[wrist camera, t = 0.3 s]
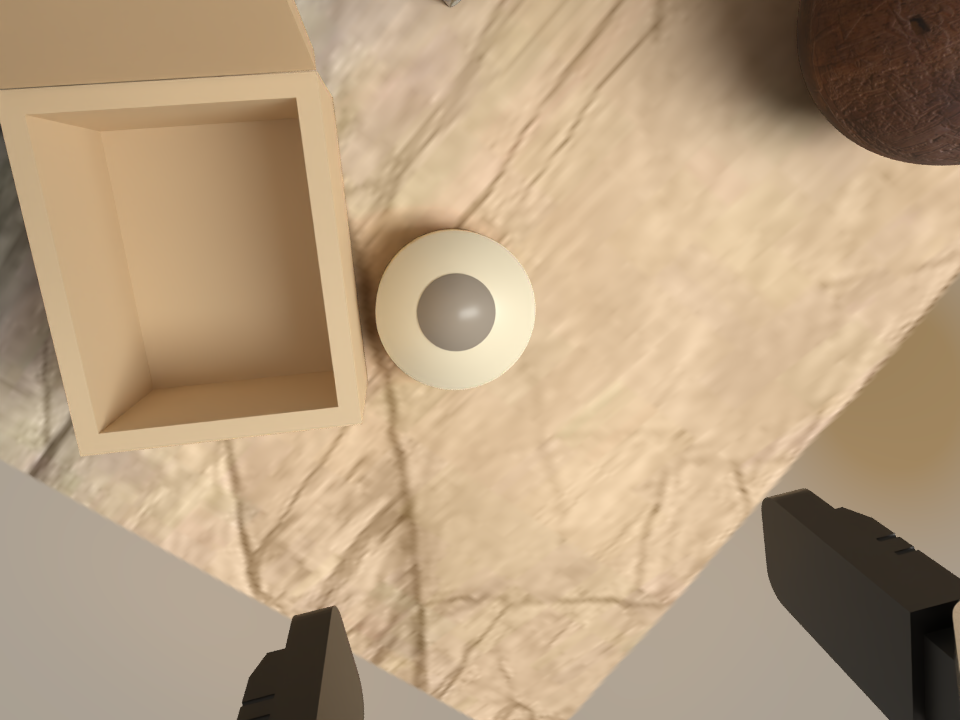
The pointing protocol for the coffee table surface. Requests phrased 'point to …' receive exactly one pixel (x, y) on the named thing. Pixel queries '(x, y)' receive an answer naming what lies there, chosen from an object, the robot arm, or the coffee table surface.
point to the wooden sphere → (886, 74)
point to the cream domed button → (454, 309)
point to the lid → (147, 40)
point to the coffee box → (451, 2)
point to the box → (191, 256)
